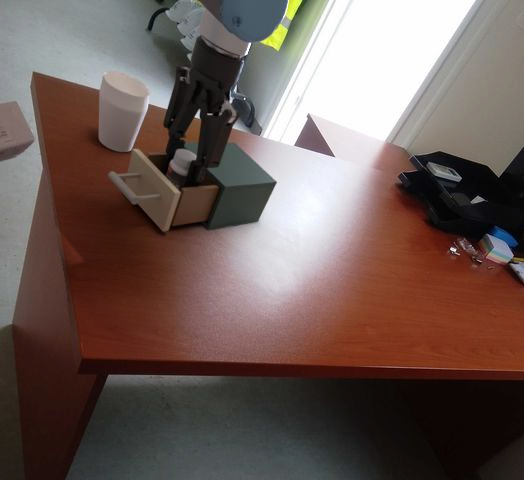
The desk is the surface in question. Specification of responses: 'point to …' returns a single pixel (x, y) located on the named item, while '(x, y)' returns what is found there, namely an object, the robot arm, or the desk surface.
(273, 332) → the desk surface
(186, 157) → the pill bottle
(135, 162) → the drawer
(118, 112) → the cup
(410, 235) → the desk surface
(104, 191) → the desk surface
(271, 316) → the desk surface
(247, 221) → the cabinet
